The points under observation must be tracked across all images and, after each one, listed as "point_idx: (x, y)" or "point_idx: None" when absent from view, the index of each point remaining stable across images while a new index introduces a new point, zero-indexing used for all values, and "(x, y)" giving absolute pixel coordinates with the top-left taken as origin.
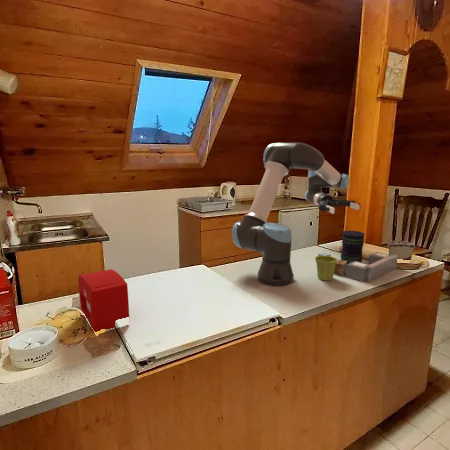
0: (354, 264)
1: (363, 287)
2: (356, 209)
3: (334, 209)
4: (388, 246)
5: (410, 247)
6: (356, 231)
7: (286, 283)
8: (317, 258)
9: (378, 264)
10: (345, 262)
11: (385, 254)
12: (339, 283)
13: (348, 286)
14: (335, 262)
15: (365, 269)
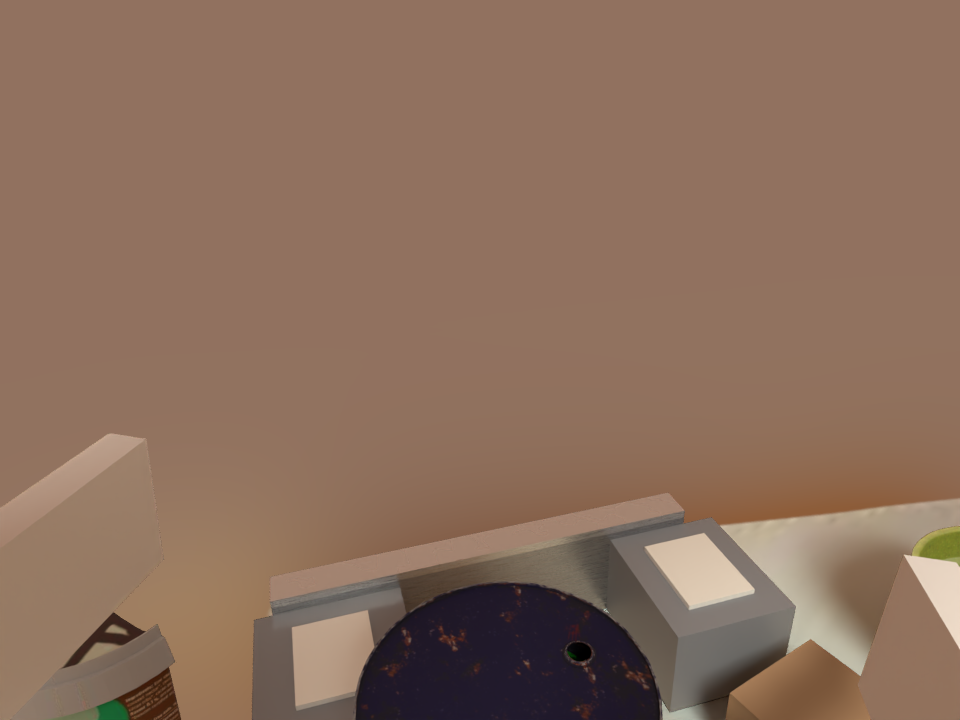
0: (740, 574)
1: (748, 539)
2: (122, 591)
3: (898, 586)
4: (167, 656)
5: None
6: None
7: None
8: None
9: (581, 513)
10: (764, 671)
11: (294, 648)
12: (879, 612)
13: (834, 569)
14: (946, 532)
15: (698, 523)
